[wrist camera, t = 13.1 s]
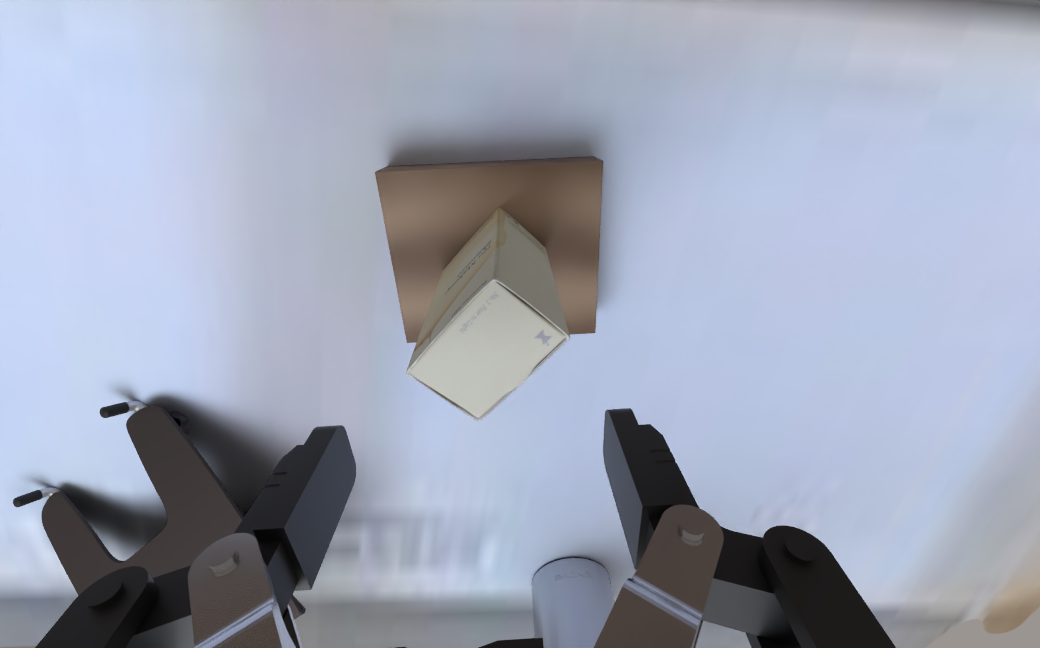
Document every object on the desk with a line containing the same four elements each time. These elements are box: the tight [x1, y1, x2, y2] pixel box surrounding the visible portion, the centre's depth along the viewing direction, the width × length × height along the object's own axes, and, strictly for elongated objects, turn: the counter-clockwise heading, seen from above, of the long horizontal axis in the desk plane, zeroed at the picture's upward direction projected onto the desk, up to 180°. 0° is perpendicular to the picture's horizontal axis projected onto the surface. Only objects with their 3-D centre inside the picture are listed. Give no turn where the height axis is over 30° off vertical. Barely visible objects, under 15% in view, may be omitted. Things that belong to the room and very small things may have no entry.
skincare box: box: [407, 208, 570, 421], centre depth 23 cm, size 6×4×12 cm
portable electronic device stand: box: [13, 401, 306, 619], centre depth 40 cm, size 23×23×9 cm
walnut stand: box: [375, 157, 603, 343], centre depth 30 cm, size 12×14×3 cm
